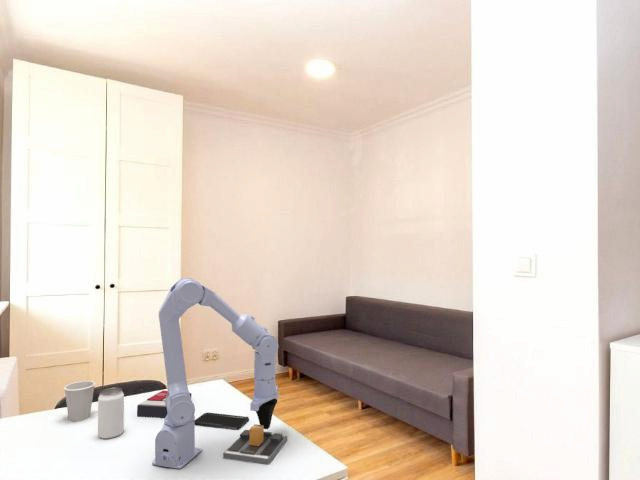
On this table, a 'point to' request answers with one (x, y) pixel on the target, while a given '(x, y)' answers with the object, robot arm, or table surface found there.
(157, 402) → the red and black box
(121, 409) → the can
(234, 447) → the panel
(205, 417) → the phone
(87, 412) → the dixie cup
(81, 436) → the table surface
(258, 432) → the handle
